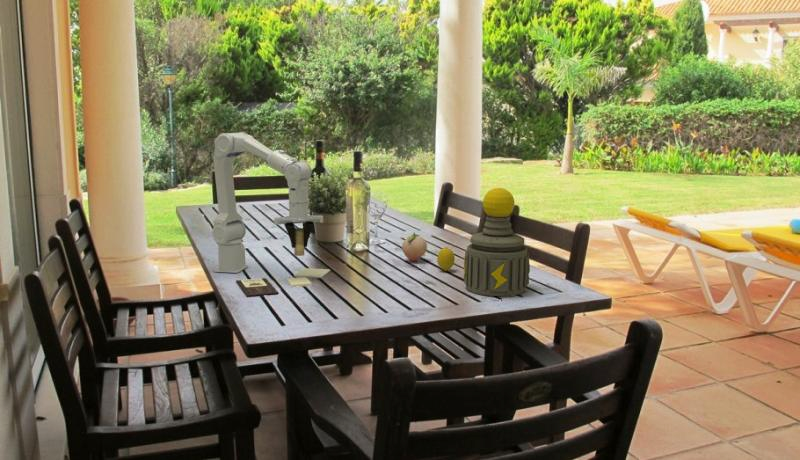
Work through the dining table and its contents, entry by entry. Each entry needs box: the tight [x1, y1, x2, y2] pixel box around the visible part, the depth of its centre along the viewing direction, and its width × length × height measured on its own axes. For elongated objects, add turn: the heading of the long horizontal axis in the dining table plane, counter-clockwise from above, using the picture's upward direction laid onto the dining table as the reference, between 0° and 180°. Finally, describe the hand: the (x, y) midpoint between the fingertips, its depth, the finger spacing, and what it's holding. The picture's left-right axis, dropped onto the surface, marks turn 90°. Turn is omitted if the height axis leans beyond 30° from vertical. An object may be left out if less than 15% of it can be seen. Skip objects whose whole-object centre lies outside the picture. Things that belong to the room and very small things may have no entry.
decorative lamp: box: [463, 187, 531, 298], centre depth 214 cm, size 19×19×30 cm
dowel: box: [293, 227, 305, 257], centre depth 223 cm, size 3×3×8 cm
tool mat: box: [293, 267, 331, 279], centre depth 233 cm, size 10×9×1 cm
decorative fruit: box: [401, 232, 428, 262], centre depth 251 cm, size 9×8×10 cm
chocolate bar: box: [235, 277, 280, 298], centre depth 216 cm, size 9×1×18 cm
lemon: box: [436, 246, 455, 272], centre depth 237 cm, size 6×6×8 cm
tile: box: [286, 277, 313, 288], centre depth 222 cm, size 1×6×8 cm
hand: (299, 246), depth 223 cm, fingers closed on dowel, 3 cm apart
